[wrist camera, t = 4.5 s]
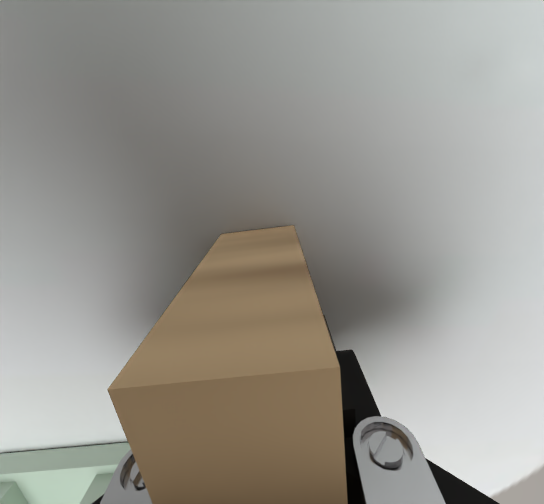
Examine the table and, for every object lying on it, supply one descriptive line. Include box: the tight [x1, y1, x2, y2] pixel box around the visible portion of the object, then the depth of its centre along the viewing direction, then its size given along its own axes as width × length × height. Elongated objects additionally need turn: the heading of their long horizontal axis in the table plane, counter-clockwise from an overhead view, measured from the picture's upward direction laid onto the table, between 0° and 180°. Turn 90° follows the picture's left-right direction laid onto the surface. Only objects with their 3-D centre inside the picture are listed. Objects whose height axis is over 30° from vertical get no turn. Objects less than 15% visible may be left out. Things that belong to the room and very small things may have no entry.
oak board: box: [108, 225, 348, 504], centre depth 8 cm, size 9×3×7 cm, turn 7°
